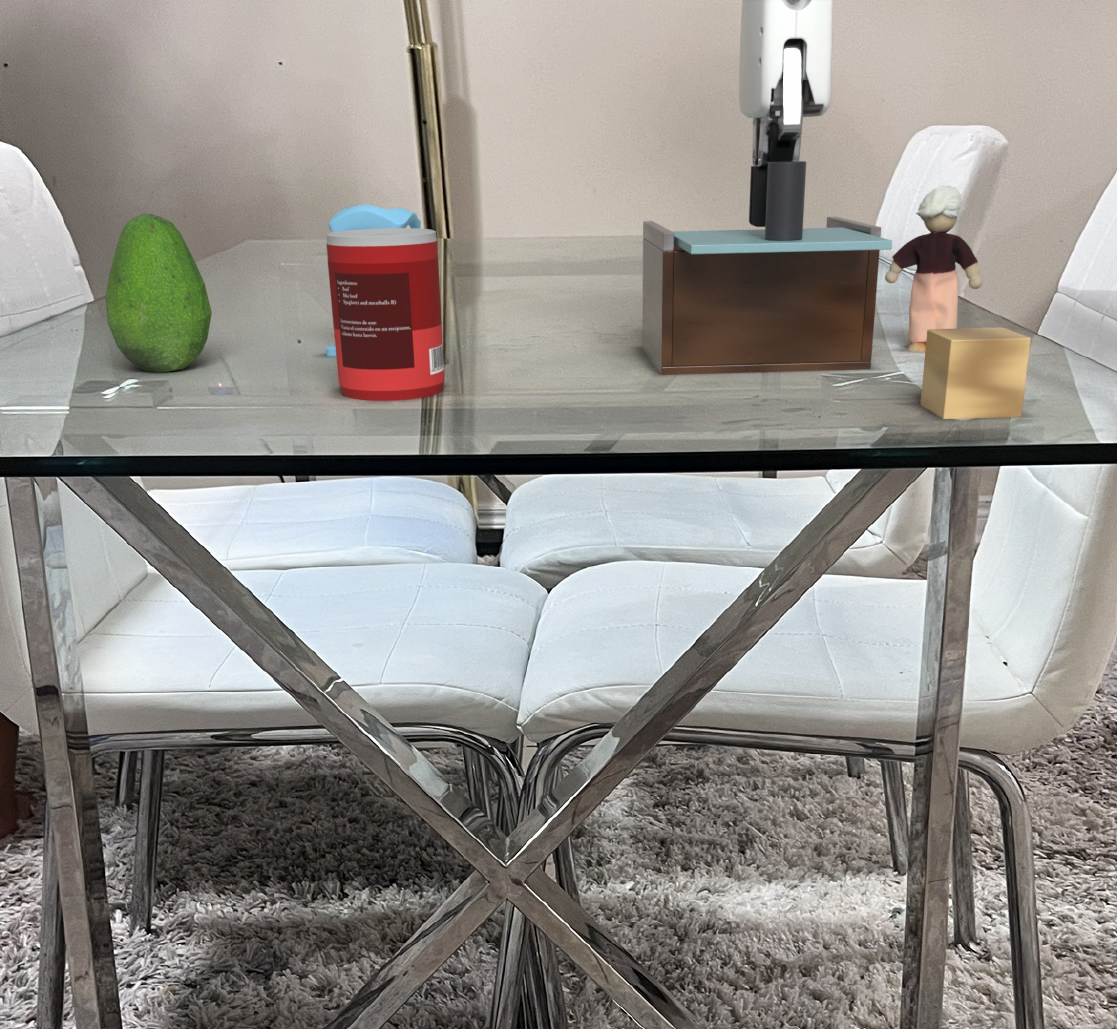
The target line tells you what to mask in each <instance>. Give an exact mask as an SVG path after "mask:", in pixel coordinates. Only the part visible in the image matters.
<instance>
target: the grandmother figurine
mask: <svg viewBox="0 0 1117 1029" xmlns="http://www.w3.org/2000/svg"><path fill="white" fill-rule="evenodd" d="M962 202H963V201H962V194H961V193H960V190H959V189H957V187H954V186H951V185H944V184H943V185H938V187H936V188H933V189H931V191H929V192H928V193H926V194H925V196H924V198H923V199H922V201H921V203H919V206H918V209H917V210H918V211H917V212H915V215H917V216H919V218H921V220H922V221H923V223H924V227H925V228H926V229H927V230H928V231H929V233H925V234H921V235H918V236H916V237H914V238H913V239H911V240H909V241H908V242H906V243H905V244H904V245H902V247H900V248H899V249H898V250H897V251H896V252H895V253H894V254H893V255H892V261H891V263H890V266H889V270H888V271H887V272H885V276H884V280H885V281H886V282H887V283H888V284H895V283H896V282H897V281H898V279H899V275H900V274H901V273H902V272H903V271H904V269H906V268H910V267H913V266H916V269H915V272H914V274H913V278H912V284H911V290H910V291H911V292H910V293H911V294H910V300H909V301H910V302H909V307H908V308H909V309H908V342H910V344H909V345H908V346H907V349H906V350H907V351H908V352H915V353H918V352H919V353H925V350H926V339H927V330H928V329H958V309H959V308H958V306H959V305H958V304H959V277H958V273H957V270H956V264H958V265H959V266H960V267H961V269H962V270H963V271H964V272H965V276H966V278H967V279H968V286H969V288H971V289H972V290H977V289H981V287H982V286H983V278H982V277H981V276H980V267H979V265H978V262H979V261H978V258H977V257H976V255H975V254H974V251H973V250H972V249H971V247H970V246H969V244H968V243H967V242H966V241H965V240H964V239H963V238H962V237H961V236H959V235H956V234H952V233H949V232H950V231H951V230H952V229H953V228H955V226H956V223H957V222H958V217H959V214H960V210H961V209H962V207H961V206H962Z"/></svg>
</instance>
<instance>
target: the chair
mask: <svg viewBox="0 0 1117 1029" xmlns="http://www.w3.org/2000/svg"><path fill="white" fill-rule="evenodd" d="M421 223H422V220H420V219H419V218H418V215H417V213H415V212H414V211H411V210H409V209H406V208H404V207H401V206H400V207H395V208H391V209H388V208H383V207H381V206H377V205H373V204H358V205H354V206H350V207H345V208H343V209H341V210H340V211H338V212H336V213H335V214H334V215H333V216H332V218H331V219H330V221H329V222H328V225H327V226H328V228H329V231H330V233H331V232H337V231H346V230H360V229H385V228H407V227H408V226H409V228H417V229H422V227H421V225H422V224H421ZM325 351H326V357H336V347H335V343H334V344H330V345H327V346H326V347H325Z"/></svg>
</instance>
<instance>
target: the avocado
mask: <svg viewBox="0 0 1117 1029" xmlns="http://www.w3.org/2000/svg"><path fill="white" fill-rule="evenodd" d="M105 291H106V292H105V297H104V298H105V308H106V321H107V326H108V327H109V330H110V333H111V335H112V337H113V340H114V342H115V344H116V347H117V349H118V350H119V351H120V352H121V353H122V355H123V356H124V358H125V359H126V360H128V361H129V362H130V363H131V364H133V365H134V366H136V367H138V368H139V369H141V370H142V371H144V372H146V373H153V374H155V373H156V374H163V373H170V372H177V371H183V370H184V369H186V368H187V367H188V366H189V365H191V363H193V362H194V361H195V360H196V359H197V358H198V357H199V356H200V354H201V353H202V352H203V350H204V348H205V345H206V343H207V341H208V338H209V333H210V327H211V320H212V314H213V311H212V307H211V303H210V300H209V295H208V291H207V288H206V283H205V281H204V279H203V276H202V274H201V271H200V269H199V268H198V266H197V263H196V261H195V259H194V257H193V255H192V253H191V251H190V249H189V246H188V245H187V243H186V241H185V239H184V237H183V236H182V233H181V232H180V230H179V229H178V228H177V227H176V226H175V224H174V223H173V222H172V221H169V220H167V219H166V218H163V217H161V216H159V215H155V214H151V213H146V212H144V213H142V214H139V215H138V216H135V217H133V218H131V219H130V220H129V221H128V222H127V223H125V225H124V227H123V228H122V230H121V232H120V234H119V238H118V241H117V244H116V248H115V251H114V255H113V259H112V263H111V267H110V270H109V274H108V280H107V285H106V290H105Z"/></svg>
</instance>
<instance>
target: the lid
mask: <svg viewBox="0 0 1117 1029" xmlns="http://www.w3.org/2000/svg"><path fill="white" fill-rule="evenodd" d="M806 174H807V161H804V160H799V161H781V162H768V174H767V197H766V221H765V227H764V229H763V228H761V229H759V228H758V229H757V228H756V229H721V230H720V229H719V230H717V229H716V230H680V231H679V230H678V231H676V230H675V231H672V230H671V231H672V232H674V244H675V245H677V246H679V247H680V248H682V249H684V250H685V251H687V252H689V253H690V254H728V253H769V252H811V251H852V250H880V251H884V250H885V251H891V250H892V248H893V240H892V239H889V238H884V237H882V236H881V237H877V236H873V235H869V234H866V233H862V232H858V231H854V230H850V229H846V228H843V227H842V228H826V227H807V228H805V227H804V215H805V214H804V212H805V194H806V193H805V192H806V179H807V178H806V176H807V175H806Z"/></svg>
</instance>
